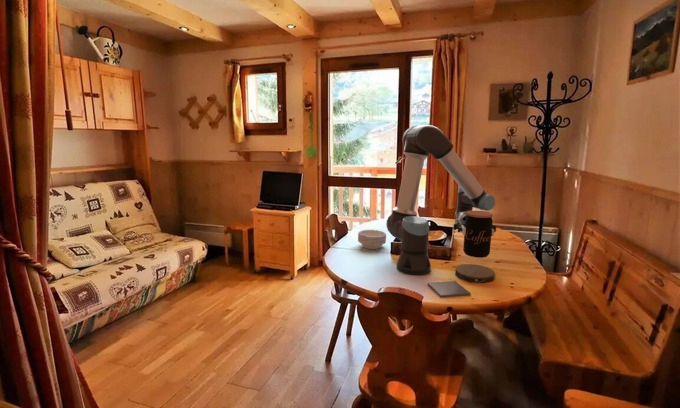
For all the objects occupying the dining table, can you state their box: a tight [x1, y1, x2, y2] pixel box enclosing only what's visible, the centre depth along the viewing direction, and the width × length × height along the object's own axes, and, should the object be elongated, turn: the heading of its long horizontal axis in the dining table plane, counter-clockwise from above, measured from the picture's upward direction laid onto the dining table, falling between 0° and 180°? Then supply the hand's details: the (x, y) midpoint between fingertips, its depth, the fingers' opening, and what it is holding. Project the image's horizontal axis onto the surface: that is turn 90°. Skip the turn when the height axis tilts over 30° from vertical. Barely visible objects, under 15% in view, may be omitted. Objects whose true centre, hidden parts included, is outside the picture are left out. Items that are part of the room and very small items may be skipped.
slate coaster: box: [427, 280, 472, 299], centre depth 140 cm, size 12×12×1 cm
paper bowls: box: [357, 229, 387, 250], centre depth 195 cm, size 15×15×8 cm
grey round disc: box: [454, 263, 496, 284], centre depth 155 cm, size 16×16×3 cm
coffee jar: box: [462, 210, 494, 259], centre depth 152 cm, size 11×11×18 cm
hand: (478, 232), depth 150 cm, fingers closed on coffee jar, 11 cm apart
